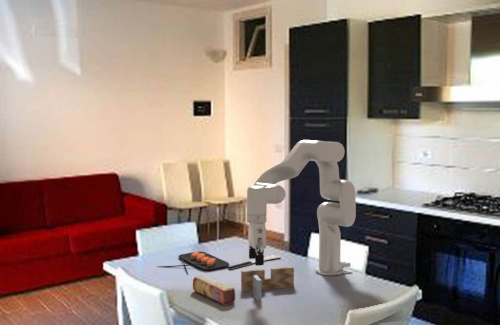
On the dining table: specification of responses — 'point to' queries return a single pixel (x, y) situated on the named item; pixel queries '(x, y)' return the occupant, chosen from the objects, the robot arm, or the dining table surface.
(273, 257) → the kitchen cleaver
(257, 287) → the notched grey block
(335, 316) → the dining table surface
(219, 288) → the snack package
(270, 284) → the wooden board
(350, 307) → the dining table surface
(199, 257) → the sushi plate
